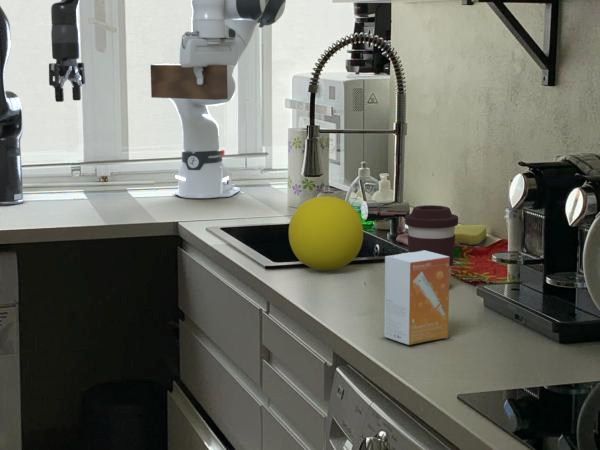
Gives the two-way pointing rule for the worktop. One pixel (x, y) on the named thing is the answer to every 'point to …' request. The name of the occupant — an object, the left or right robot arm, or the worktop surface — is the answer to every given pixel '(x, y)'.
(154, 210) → the worktop surface
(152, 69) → the bar
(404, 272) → the small box
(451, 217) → the coffee cup
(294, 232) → the toy
